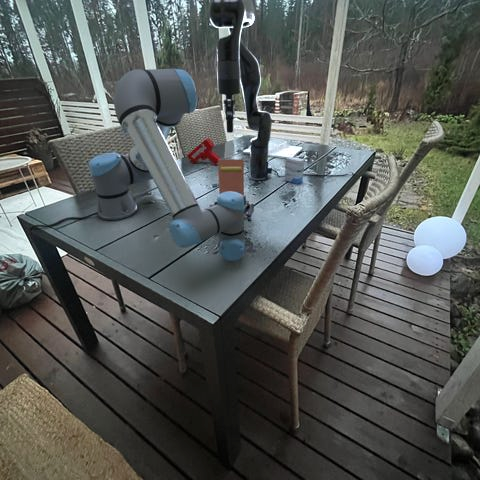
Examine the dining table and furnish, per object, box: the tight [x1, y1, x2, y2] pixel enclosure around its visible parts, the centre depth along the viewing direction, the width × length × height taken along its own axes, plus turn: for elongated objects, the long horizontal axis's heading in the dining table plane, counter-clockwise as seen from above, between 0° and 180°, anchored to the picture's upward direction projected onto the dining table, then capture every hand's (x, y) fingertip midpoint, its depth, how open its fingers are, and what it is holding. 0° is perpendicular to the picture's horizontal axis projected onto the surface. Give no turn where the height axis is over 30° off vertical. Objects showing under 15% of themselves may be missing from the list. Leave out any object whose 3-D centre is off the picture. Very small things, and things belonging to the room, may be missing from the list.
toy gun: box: [186, 137, 221, 166], centre depth 168 cm, size 18×4×15 cm
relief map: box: [242, 138, 304, 160], centre depth 192 cm, size 27×35×5 cm
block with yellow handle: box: [217, 158, 245, 196], centre depth 99 cm, size 13×10×8 cm
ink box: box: [284, 156, 306, 185], centre depth 140 cm, size 8×5×12 cm, turn 47°
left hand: (231, 199), depth 110 cm, fingers open, 10 cm apart
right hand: (230, 129), depth 97 cm, fingers open, 8 cm apart
